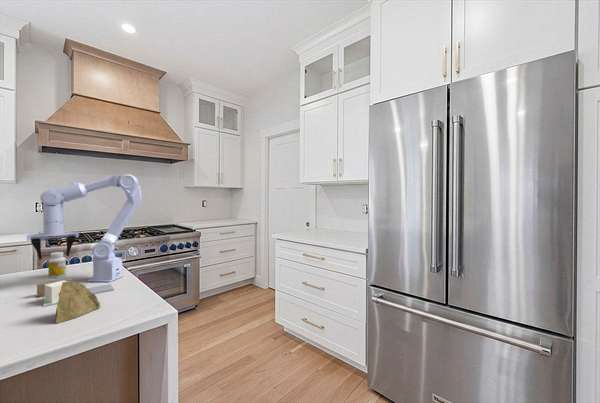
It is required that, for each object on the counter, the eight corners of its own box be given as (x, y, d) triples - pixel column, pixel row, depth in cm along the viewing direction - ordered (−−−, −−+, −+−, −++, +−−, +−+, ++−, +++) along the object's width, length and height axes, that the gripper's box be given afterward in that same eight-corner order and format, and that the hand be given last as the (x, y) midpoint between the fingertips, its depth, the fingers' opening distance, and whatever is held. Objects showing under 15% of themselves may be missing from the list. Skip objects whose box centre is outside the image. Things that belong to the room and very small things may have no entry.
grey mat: (110, 285, 103) (110, 284, 103) (113, 290, 97) (113, 289, 97) (87, 289, 98) (87, 288, 98) (89, 295, 93) (89, 293, 93)
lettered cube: (64, 294, 91) (63, 280, 91) (71, 297, 89) (71, 282, 89) (44, 300, 87) (44, 284, 87) (52, 303, 85) (51, 287, 84)
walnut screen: (71, 289, 98) (71, 278, 98) (72, 291, 96) (72, 280, 96) (37, 295, 92) (37, 283, 92) (36, 297, 90) (36, 286, 90)
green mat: (72, 294, 93) (72, 293, 93) (73, 300, 88) (73, 299, 88) (44, 299, 88) (44, 298, 88) (43, 306, 83) (43, 305, 83)
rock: (102, 295, 87) (62, 297, 81) (105, 278, 83) (62, 279, 77) (97, 327, 79) (51, 331, 74) (99, 310, 75) (51, 313, 70)
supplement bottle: (45, 277, 111) (44, 253, 111) (60, 273, 116) (59, 251, 116) (54, 278, 110) (53, 254, 109) (69, 274, 115) (68, 252, 114)
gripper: (77, 219, 110) (77, 252, 110) (26, 222, 100) (27, 258, 100) (79, 221, 105) (79, 255, 105) (26, 223, 95) (26, 262, 95)
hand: (54, 257), depth 103 cm, fingers open, 7 cm apart
